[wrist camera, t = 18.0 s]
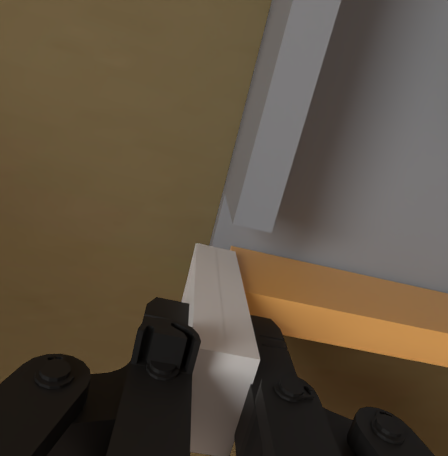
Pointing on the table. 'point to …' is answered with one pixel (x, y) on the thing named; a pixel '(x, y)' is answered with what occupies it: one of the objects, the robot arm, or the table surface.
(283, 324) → the orange long flat block
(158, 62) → the table surface
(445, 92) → the box
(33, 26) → the table surface
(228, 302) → the robot arm
